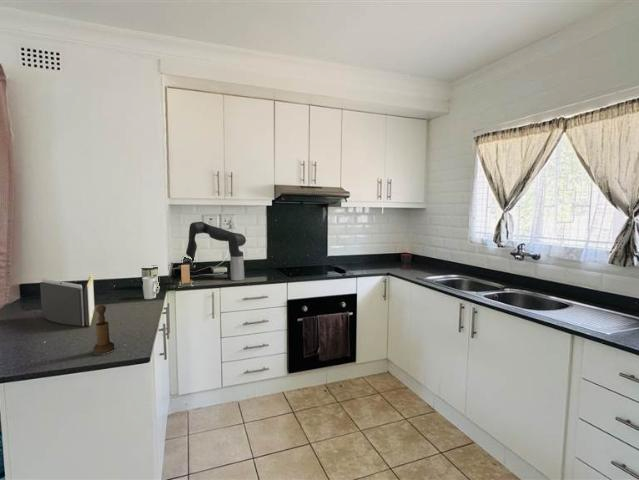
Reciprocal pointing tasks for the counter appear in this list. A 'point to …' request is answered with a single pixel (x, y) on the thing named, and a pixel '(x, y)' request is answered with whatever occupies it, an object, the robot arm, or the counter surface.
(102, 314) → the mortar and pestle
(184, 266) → the block
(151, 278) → the mug
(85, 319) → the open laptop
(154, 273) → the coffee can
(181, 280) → the chute
